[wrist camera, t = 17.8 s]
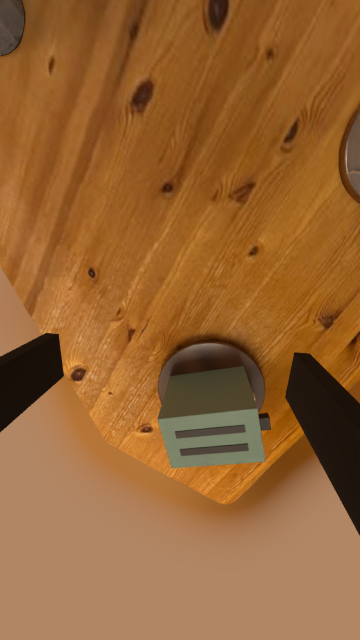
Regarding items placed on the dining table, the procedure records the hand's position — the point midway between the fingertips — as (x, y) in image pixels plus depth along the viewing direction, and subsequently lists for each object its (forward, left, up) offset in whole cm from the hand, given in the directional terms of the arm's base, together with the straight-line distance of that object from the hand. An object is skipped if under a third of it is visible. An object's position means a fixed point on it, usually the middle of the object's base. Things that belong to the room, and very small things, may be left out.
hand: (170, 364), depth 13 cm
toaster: (-4, +18, -26) cm, 32 cm away
